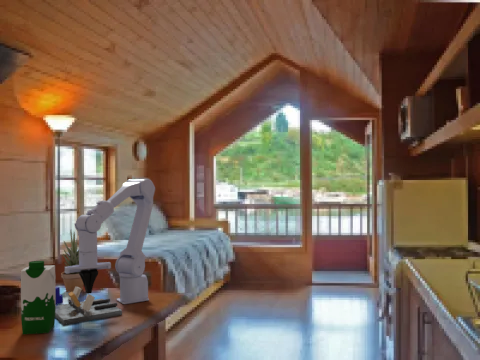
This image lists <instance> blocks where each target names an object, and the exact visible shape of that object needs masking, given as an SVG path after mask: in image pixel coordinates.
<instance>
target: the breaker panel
mask: <svg viewBox="0 0 480 360" xmlns="http://www.w3.org/2000/svg"><path fill="white" fill-rule="evenodd" d="M98 300H105V298H96V299H94V301H98ZM79 302H80V304H81V305H80V306H79V307H77V306H75V305H74V303H73V302H72V300H71V299H70V298H68V303H64V304H58V305H56V309H55V319H56V320H58V321H59V322H60V323H61V324H62V325H63V326H66V325H72V324H76V323H83V322H88V321H89V320H90V321H95V320H101V319H105V318H111V317H118V316H122V315H123V310H122V309H121V308H119V307H118V306H114V307H108V308H102V309H94V307H95V306H100V305H107V304H112V303H111V302H105V303H98V304H92V306H91V308H90V310H89V311H87V310H85V309H83V308H82V307H83V304H84V302H85V300H83V301H79ZM94 319H95V320H94Z"/></svg>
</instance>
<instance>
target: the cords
mask: <svg viewBox="0 0 480 360" xmlns="http://www.w3.org/2000/svg"><path fill="white" fill-rule="evenodd" d="M105 302H109V303H111V298H107V299H106V298H104V300H98V301H93V303H92V304H98V303H105ZM114 306H116V307H118V303H117V302H113V303H111V304H107V305H100V306H95V307H94V309H102V308H108V307H114Z"/></svg>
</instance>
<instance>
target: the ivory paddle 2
mask: <svg viewBox="0 0 480 360" xmlns="http://www.w3.org/2000/svg"><path fill="white" fill-rule="evenodd" d="M95 298H96V297H95V296H94V295H92V294H90V293H89V294H87V296H86V297H85V300H84V301H85V302H84V304H83V307H82V308H83V309H85V310H87V311H89V310H90V308H91V306H92V303H93V301H94V300H96V299H95Z"/></svg>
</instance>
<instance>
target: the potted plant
mask: <svg viewBox="0 0 480 360" xmlns="http://www.w3.org/2000/svg"><path fill="white" fill-rule="evenodd" d="M69 234H70V245H71V246H70V247H69V246H68V244H67V243H66V240H63V243H64V246H65V248H66V250H67V251H66V250H65V249H63V251H64V253H62V256H63V258H64V259H65V261H64V264H65V265H64V268H65V267H68V266H74V265H79V249H78V238H76V232H75V231H73V233H72V230H70V233H69ZM60 278H61V279H62V281H63V283H64V288H65V291H66V293H70V292H73V291H74V289H75V286H76V287H79V288H81V289H82V290H81V292H82V291H83V288H84V284H83V281H82V279H81V277H80V275H79V272H73V273H68V274H66V273H65V271H63V272H61V273H60Z"/></svg>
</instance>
